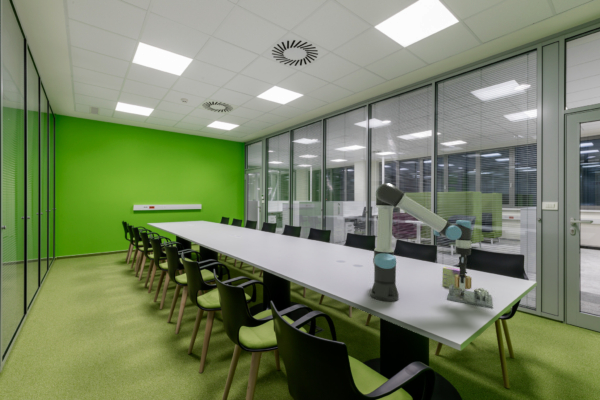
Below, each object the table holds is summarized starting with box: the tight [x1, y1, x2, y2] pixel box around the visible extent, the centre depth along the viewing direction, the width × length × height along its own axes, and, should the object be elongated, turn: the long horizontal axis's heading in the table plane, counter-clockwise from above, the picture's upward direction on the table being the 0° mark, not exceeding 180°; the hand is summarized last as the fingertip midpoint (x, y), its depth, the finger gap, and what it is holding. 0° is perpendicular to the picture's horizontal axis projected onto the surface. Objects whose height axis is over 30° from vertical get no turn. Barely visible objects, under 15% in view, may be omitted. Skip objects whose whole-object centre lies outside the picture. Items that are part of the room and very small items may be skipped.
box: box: [441, 266, 461, 290], centre depth 175 cm, size 10×6×12 cm, turn 47°
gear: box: [455, 274, 472, 290], centre depth 158 cm, size 8×8×6 cm
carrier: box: [446, 284, 493, 309], centre depth 155 cm, size 21×21×6 cm
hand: (462, 286), depth 158 cm, fingers closed on gear, 8 cm apart
